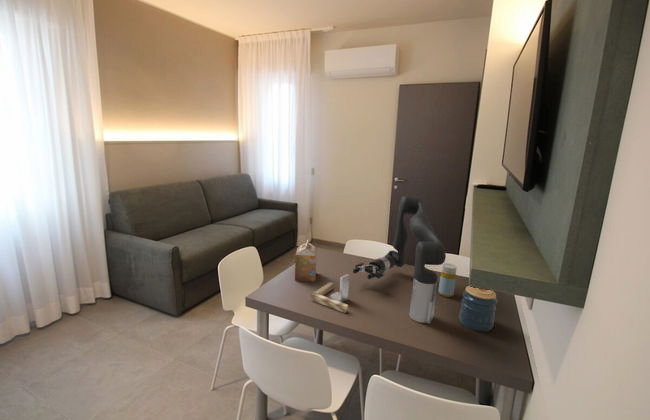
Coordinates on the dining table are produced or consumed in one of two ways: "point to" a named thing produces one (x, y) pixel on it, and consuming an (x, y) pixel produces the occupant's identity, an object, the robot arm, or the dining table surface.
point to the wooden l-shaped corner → (326, 301)
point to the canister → (478, 309)
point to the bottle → (447, 280)
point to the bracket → (342, 289)
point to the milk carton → (305, 262)
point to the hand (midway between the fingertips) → (360, 274)
